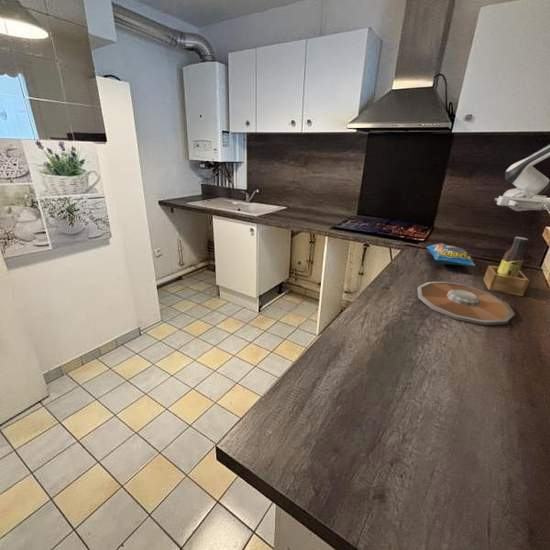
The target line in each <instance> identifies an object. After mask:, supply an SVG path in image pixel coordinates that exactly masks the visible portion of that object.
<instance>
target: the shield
mask: <svg viewBox="0 0 550 550" xmlns="http://www.w3.org/2000/svg"><path fill="white" fill-rule="evenodd" d="M416 291H417V298H418V300H420V301H421V302H422V303H423V304H424V305H426V306H427V307H428V308H429V309H430V310H432V311H434V312H437V313H438V314H442V315H444V316H446V317H448V318H450V319H453V320H456V321H459V322H464V323H470V324H474V325H479V326H485V327H486V326H500V325H501V326H502V325H507V324H508V323H509V322H510V321H511V320H512V319H513V318H514V317H515V315H516V313H515V312H514V310H513V309H512V307H511V306H510V305H509V302H506V301H504V300H503V299H501V298H500V297H498V296H496V295H495V294H493V293H491V292H488V291H485V290H483V289H480V288H477V287H474V286H470V285H468V284H462V283H456V282H452V281H451V282H450V281H427V282H425V283H423V284H421V285H419V286H417V290H416Z"/></svg>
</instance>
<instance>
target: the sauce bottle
mask: <svg viewBox="0 0 550 550" xmlns="http://www.w3.org/2000/svg"><path fill="white" fill-rule="evenodd" d="M528 241H529V238H526V237H522V236H514V238H513V242H512V245H511V247H510V248H509V249H508V250H507V251H506V252H505V253H504V254H503V257H502V259H501V261H500V263H499V265H498V267H499V268H498V271H497V273H496V274H498V275H504V276H510V277H516V276H517V274H518V271H519V270H520V269H521V266H522V264H523V262H524V250H525V247H526V245H527V244H528Z"/></svg>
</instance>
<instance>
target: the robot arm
mask: <svg viewBox="0 0 550 550" xmlns="http://www.w3.org/2000/svg"><path fill="white" fill-rule="evenodd" d="M549 157H550V144H548V145H546V146H544V147H542V148H541V149H539V150H537V151H535V152H534V153H532V154H531V155H528V156H527V157H524V158H522V159H520V160H519V161H516V162H515V163H513V164H511V165H510V166H509V167H508V168H507V169H506V170H505V172H504V179H505V181H507V182H508V183H509V184H512V185H514V186H515V188H510V189H508V190H506V191H505V192H503V195H499V196H498V197H495V198H494V201H496V205H497V206H501V207H507V208H510V209H511V210H512V211H515V212H524V211H525V212H527V211H550V198H549V199H547V198H548V196H547V195H544V194H545V193H546V192H547V191H548V189H549V187H550V179H549V177H547V176H546V175H544V174H543V173H542V172H540V171H539V170H538V169H536V168H535V167H534V166H535V165H536V164H538V163H540V162H542V161H544V160H546V159H548V158H549ZM542 200H543V201H542ZM544 205H545V206H546V207H547V209H548V210H547V209H546V207H545V206H544Z"/></svg>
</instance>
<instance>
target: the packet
mask: <svg viewBox="0 0 550 550" xmlns="http://www.w3.org/2000/svg"><path fill="white" fill-rule="evenodd" d="M426 250H427V252H428V253H429V254H430V255H432V256H433V258H434V260H435V263H436V264H441V265H442V266H464V267H474V266H476V263H474V262H473V259H472V257H471V254H469V252H467V251H466V250H465V249H464V248H461V247H457V246H453V245H448V244H445V243H443V242H440V243H435V244H432V245H429V246H426Z"/></svg>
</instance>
